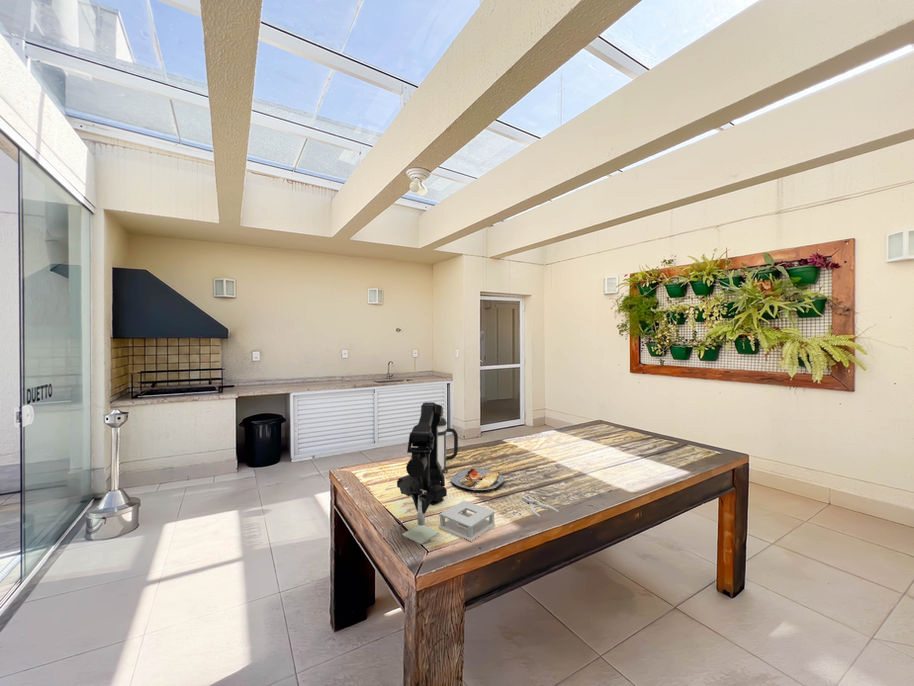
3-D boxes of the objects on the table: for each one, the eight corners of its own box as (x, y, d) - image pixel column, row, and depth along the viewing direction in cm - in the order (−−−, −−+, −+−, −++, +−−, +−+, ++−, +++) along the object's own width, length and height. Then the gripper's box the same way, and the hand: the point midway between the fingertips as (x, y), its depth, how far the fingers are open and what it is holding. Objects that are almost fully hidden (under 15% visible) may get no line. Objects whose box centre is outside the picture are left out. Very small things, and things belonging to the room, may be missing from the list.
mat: (402, 535, 124) (402, 533, 124) (421, 524, 131) (421, 523, 131) (421, 544, 118) (421, 543, 118) (439, 533, 125) (439, 532, 125)
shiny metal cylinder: (416, 524, 124) (416, 494, 124) (421, 521, 126) (421, 492, 126) (421, 526, 123) (421, 496, 123) (426, 523, 125) (426, 494, 125)
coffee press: (440, 478, 175) (440, 416, 175) (413, 472, 183) (413, 412, 183) (458, 468, 190) (458, 410, 190) (432, 463, 198) (432, 407, 198)
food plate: (469, 469, 188) (469, 462, 188) (511, 478, 176) (511, 471, 176) (442, 487, 166) (442, 479, 166) (488, 499, 154) (488, 491, 154)
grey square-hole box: (439, 527, 129) (439, 513, 129) (464, 513, 139) (464, 500, 139) (471, 541, 120) (471, 526, 120) (494, 525, 131) (494, 511, 131)
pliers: (538, 513, 137) (515, 498, 150) (538, 518, 137) (515, 502, 150) (559, 508, 141) (534, 494, 154) (559, 512, 141) (534, 498, 154)
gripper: (384, 466, 124) (384, 512, 124) (424, 480, 112) (424, 530, 112) (408, 458, 133) (409, 501, 133) (447, 470, 121) (447, 517, 121)
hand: (421, 512), depth 125 cm, fingers closed on shiny metal cylinder, 2 cm apart
